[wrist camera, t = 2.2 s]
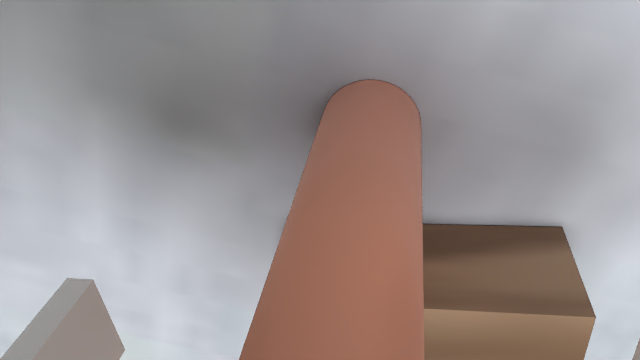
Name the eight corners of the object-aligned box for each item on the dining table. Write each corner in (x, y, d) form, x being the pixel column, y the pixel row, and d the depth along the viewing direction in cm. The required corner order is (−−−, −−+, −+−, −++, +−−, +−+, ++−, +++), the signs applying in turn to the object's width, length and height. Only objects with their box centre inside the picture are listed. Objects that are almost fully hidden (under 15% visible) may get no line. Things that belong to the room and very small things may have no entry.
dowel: (317, 81, 20) (180, 417, 8) (421, 78, 19) (428, 441, 8) (326, 167, 22) (228, 528, 10) (420, 167, 21) (425, 555, 10)
